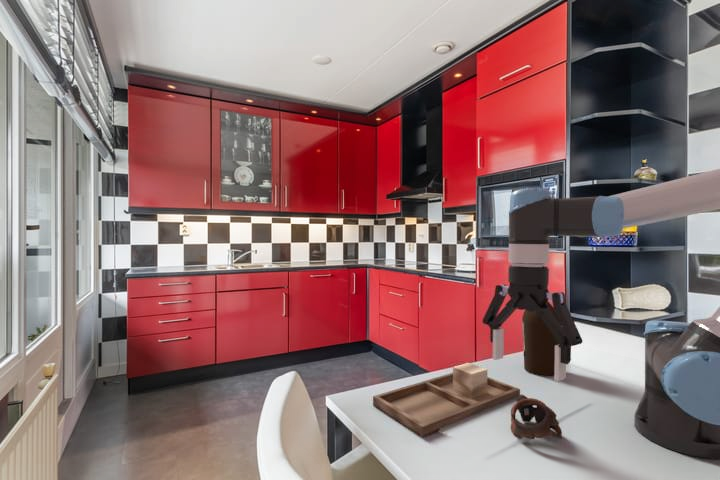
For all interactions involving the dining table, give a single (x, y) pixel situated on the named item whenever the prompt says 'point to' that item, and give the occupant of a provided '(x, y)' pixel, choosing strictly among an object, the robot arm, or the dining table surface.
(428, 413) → the walnut tray
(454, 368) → the beech block
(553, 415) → the pottery mug
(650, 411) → the robot arm
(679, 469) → the dining table surface
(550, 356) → the olive oil
